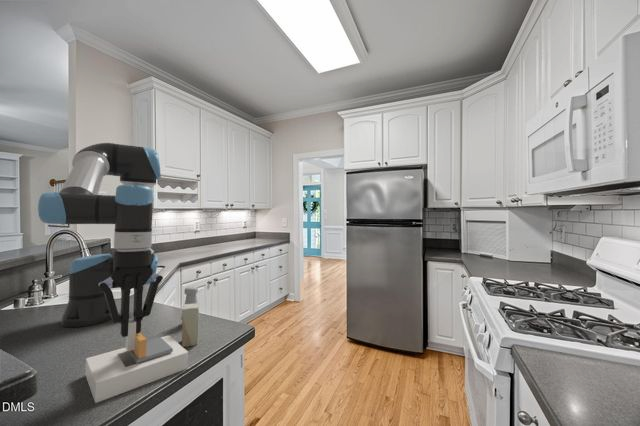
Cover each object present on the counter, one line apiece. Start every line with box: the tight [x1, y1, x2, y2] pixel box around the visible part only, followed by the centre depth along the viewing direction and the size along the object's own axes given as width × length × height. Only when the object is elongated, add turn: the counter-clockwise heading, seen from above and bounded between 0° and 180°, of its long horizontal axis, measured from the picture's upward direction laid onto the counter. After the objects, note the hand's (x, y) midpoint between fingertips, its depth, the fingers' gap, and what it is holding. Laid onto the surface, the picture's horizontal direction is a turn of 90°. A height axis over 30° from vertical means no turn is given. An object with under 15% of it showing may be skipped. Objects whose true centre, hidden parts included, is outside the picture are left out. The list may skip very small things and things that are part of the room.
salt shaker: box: [180, 285, 200, 320], centre depth 97 cm, size 6×6×13 cm
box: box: [181, 302, 200, 348], centre depth 82 cm, size 5×4×11 cm
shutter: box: [126, 332, 173, 363], centre depth 68 cm, size 9×8×5 cm
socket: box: [85, 335, 189, 404], centre depth 66 cm, size 14×18×4 cm
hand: (130, 348), depth 65 cm, fingers closed
